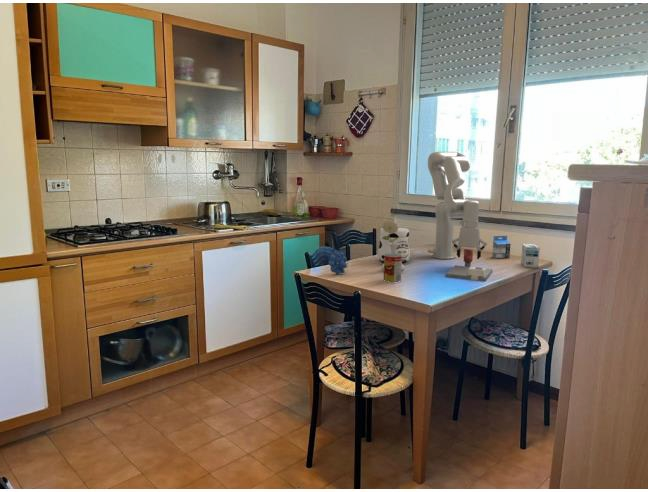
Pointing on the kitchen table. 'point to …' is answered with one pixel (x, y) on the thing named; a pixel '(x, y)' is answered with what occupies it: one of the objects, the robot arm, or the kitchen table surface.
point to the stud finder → (477, 271)
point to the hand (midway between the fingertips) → (468, 257)
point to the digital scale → (466, 273)
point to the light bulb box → (530, 255)
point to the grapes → (338, 262)
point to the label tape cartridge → (501, 247)
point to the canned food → (392, 267)
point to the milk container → (402, 240)
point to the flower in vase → (390, 228)
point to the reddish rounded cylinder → (468, 257)
